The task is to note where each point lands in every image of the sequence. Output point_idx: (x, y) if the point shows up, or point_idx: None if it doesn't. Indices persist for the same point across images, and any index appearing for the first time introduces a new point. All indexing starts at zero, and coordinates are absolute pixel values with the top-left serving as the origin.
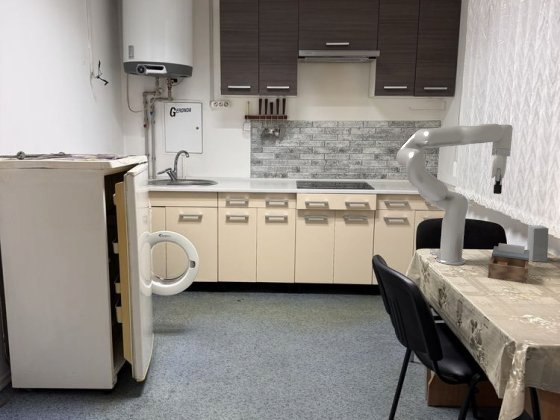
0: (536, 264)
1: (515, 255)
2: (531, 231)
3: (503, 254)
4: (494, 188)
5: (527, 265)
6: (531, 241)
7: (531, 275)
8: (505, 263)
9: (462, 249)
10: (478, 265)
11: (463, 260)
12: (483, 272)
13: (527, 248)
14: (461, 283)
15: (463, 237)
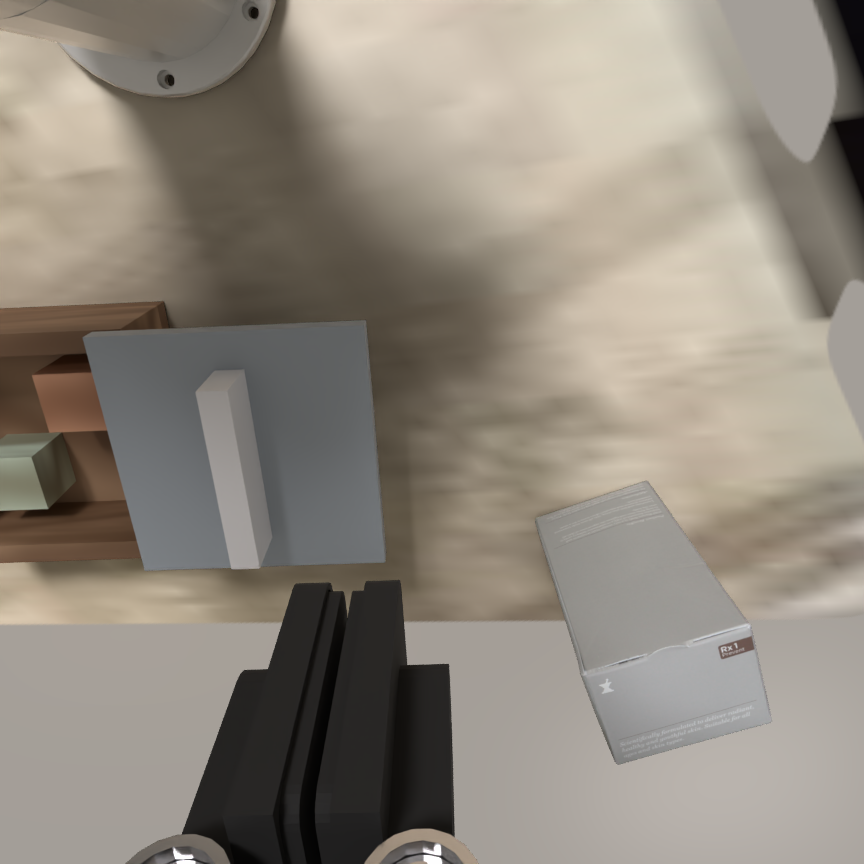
0: (472, 537)
1: (148, 493)
2: (624, 629)
3: (112, 419)
4: (260, 711)
5: (28, 556)
6: (590, 580)
7: None
8: (74, 421)
9: (111, 51)
10: (195, 207)
11: (174, 77)
12: (37, 268)
13: (656, 513)
14: None
15: (45, 36)
